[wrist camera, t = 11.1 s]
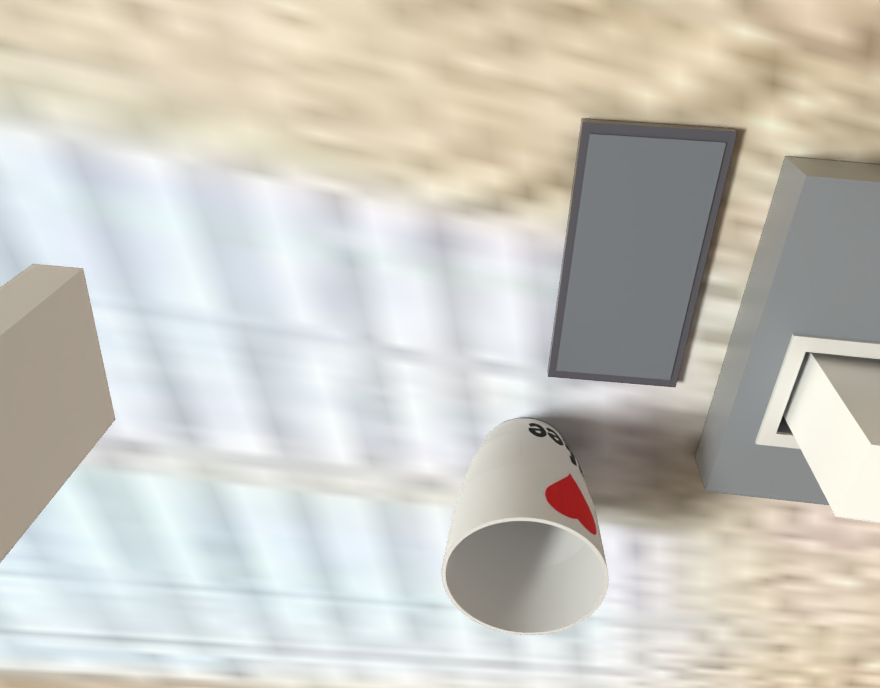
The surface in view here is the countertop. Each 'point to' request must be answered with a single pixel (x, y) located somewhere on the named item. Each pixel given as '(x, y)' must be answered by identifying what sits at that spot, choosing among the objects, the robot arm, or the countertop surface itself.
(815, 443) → the block
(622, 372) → the phone
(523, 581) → the cup
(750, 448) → the plate
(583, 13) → the countertop surface
